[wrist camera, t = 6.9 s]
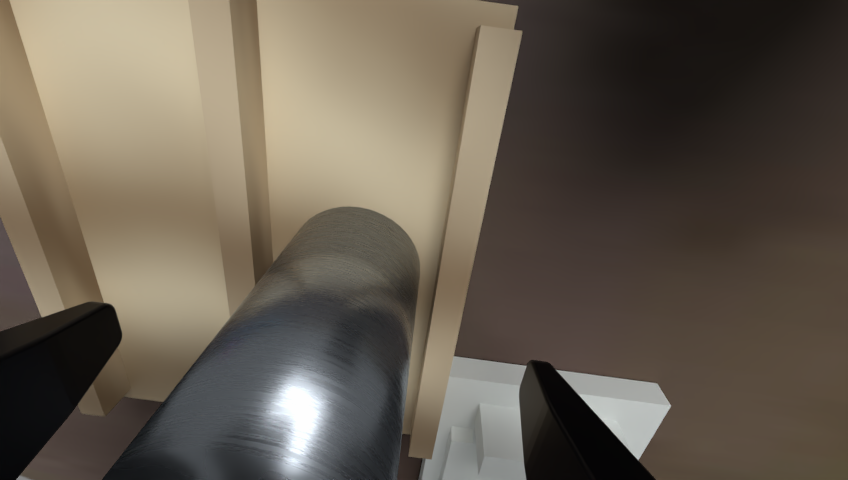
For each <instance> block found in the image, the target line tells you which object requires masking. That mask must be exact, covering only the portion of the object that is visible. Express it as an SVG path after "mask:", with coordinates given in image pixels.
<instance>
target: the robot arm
mask: <svg viewBox="0 0 848 480" xmlns="http://www.w3.org/2000/svg"><path fill="white" fill-rule="evenodd" d="M121 340H122V330H121V326H120V323H119V320H118V316H117V313H116V310H115V308H114V306H113V305H111V304H109V303H103V302H95V301H90V302H86V303H83V304H80V305H77V306H74V307H71V308H68V309H65V310H62V311H59V312H56V313H53V314H51V315H48V316H45V317H42V318H39V319H36V320H33V321H30V322H27V323H24V324H21V325H18V326H15V327H13V328H10V329H7V330H4V331H1V332H0V480H16V479H17V478H18V477H19V475H20V474H21V473H22V472H23V471H24V469H25V468H26V467H27V466H28V465H29V463H30V462H31V461H32V460H33V459H34V457H35V456H36V455H37V454H38V453H39V451H40V450H41V449H42V448H43V447H44V445H45V444H46V443H47V442H48V441H49V439H50V438H51V437H52V436H53V435H54V433H55V432H56V431H57V430H58V429H59V427H60V426H61V425H62V424H63V423H64V421H65V420H66V419H67V418H68V416H69V415H70V414H71V413H72V411H73V410H74V409H75V407H76V406H77V405H78V403H79V402H80V401H81V399H82V398H83V396H84V395H85V394H86V392H87V391H88V389H89V388H90V386H91V385H92V383H93V382H94V381H95V379H96V378H97V376H98V375H99V373H100V372H101V371H102V369H103V368H104V366H105V365H106V363H107V362H108V360H109V359H110V358H111V356H112V355H113V353H114V352H115V350H116V349H117V348H118V346H119V344H120V342H121ZM519 405H520V418H521V431H522V445H523V457H524V468H525V474H526V480H656V479H655V478H654V477H653V476H652V475H651V474H650V473H649V472H648V470H647V469H646V468H645V467H644V466H643V465H642V464H641V463H640V462H639V461H638V459H637V458H636V457H635V456H634V455H633V454H632V453H631V452H630V451H629V450H628V448H627V447H626V446H625V445H624V444H623V443H622V442H621V441H620V440H619V439H618V437H617V436H616V435H615V434H614V433H613V432H612V431H611V430H610V429H609V428H608V426H607V425H606V424H605V423H604V422H603V421H602V420H601V419H600V418H599V417H598V416H597V414H596V413H595V412H594V411H593V410H592V409H591V408H590V407H589V406H588V405H587V403H586V402H585V401H584V400H583V399H582V398H581V397H580V396H579V395H578V394H577V392H576V391H575V390H574V389H573V388H572V387H571V386H570V385H569V384H568V383H567V381H566V380H565V379H564V378H563V377H562V376H561V375H560V374H559V373H558V372H557V370H556V369H555V368H554V367H553V366H552V365H551V364H550V363H548V362H544V361H537V360H531V361H529V362H528V364H527V367H526V370H525V373H524V376H523V379H522V382H521V385H520V389H519Z"/></svg>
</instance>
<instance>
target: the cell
mask: <svg viewBox="0 0 848 480" xmlns="http://www.w3.org/2000/svg"><path fill="white" fill-rule="evenodd" d="M419 280H420V260H419V255H418V252H417V250H416V247H415V245H414V243H413V242H412V240H411V238H410V237H409V236H408V234H407V233H406V232H405V231H404V230H403V229H402V228H401V227H400V226H399V225H398V224H397V223H395V222H394V221H393V220H391V219H390V218H388V217H386V216H385V215H383V214H380V213H378V212H376V211H373V210H370V209H366V208H361V207H351V206H348V207H337V208H331V209H328V210H325V211H323V212H320V213H318V214H316V215H315V216H313V217H312V218H310V219H309V220H308V221H307V222H306V223H305V224H304V225H303V226H302V227H301V228H300V230H299V231H298V232H297V233H296V235H295V236H294V237H293V238H292V240H291V241H290V242H289V243H288V245H287V246H286V247H285V249H284V250H283V251H282V252H281V254H280V255H279V256H278V257H277V259H276V260H275V261H274V262H273V264H272V265H271V266H270V268H269V269H268V270H267V271H266V273H265V274H264V275H263V276H262V278H261V279H260V280H259V281H258V283H257V284H256V285H255V287H254V288H253V289H252V290H251V292H250V293H249V294H248V295H247V297H246V298H245V299H244V300H243V302H242V303H241V304H240V306H239V307H238V308H237V309H236V311H235V312H234V313H233V314H232V316H231V317H230V318H229V319H228V321H227V322H226V323H225V325H224V326H223V327H222V328H221V330H220V331H219V332H218V333H217V335H216V336H215V337H214V338H213V340H212V341H211V342H210V344H209V345H208V346H207V347H206V349H205V350H204V351H203V352H202V354H201V355H200V356H199V357H198V359H197V360H196V361H195V363H194V364H193V365H192V366H191V368H190V369H189V370H188V371H187V373H186V374H185V375H184V376H183V378H182V379H181V380H180V382H179V383H178V384H177V385H176V387H175V388H174V389H173V390H172V392H171V393H170V394H169V395H168V397H167V398H166V399H165V400H164V402H163V403H162V404H161V406H160V407H159V408H158V409H157V411H156V412H155V413H154V414H153V416H152V417H151V418H150V419H149V421H148V422H147V423H146V425H145V426H144V427H143V428H142V430H141V431H140V432H139V433H138V435H137V436H136V437H135V438H134V440H133V441H132V442H131V444H130V445H129V446H128V447H127V449H126V450H125V451H124V452H123V454H122V455H121V456H120V457H119V459H118V460H117V461H116V463H115V464H114V465H113V466H112V468H111V469H110V470H109V471H108V473H107V474H106V475H105V476H104V478H103V479H102V480H397V475H398V466H399V457H400V448H401V439H402V430H403V421H404V413H405V404H406V395H407V386H408V377H409V368H410V360H411V351H412V342H413V333H414V324H415V315H416V306H417V298H418V289H419Z"/></svg>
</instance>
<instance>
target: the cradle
mask: <svg viewBox="0 0 848 480" xmlns="http://www.w3.org/2000/svg"><path fill="white" fill-rule="evenodd" d="M526 367H527V366H523V365H516V364H508V363H501V362H493V361H486V360H478V359H471V358H463V357H456V356H453V361H452V366H451V370H450V375H449V380H448V385H447V389H446V394H445V399H444V403H443V408H442V413H441V417H440V422H439V427H438V432H437V436H436V441H435V446H434V450H433V455H432V460H431V459H422V464H421V469H420V475H419V480H526V474H525V468H524V457H523V445H522V431H521V418H520V405H519V389H520V385H521V382H522V379H523V376H524V373H525V370H526ZM557 372H558V373H559V374H560V375H561V376H562V377H563V378H564V379H565V380H566V381H567V383H568V384H569V385H570V386H571V387H572V388H573V389H574V390H575V391H576V392H577V394H578V395H579V396H580V397H581V398H582V399H583V400H584V401H585V402H586V403H587V405H588V406H589V407H590V408H591V409H592V410H593V411H594V412H595V413H596V414H597V416H598V417H599V418H600V419H601V420H602V421H603V422H604V423H605V424H606V425H607V426H608V428H609V429H610V430H611V431H612V432H613V433H614V434H615V435H616V436H617V437H618V439H619V440H620V441H621V442H622V443H623V444H624V445H625V446H626V447H627V448H628V450H629V451H630V452H631V453H632V454H633V455H634V456H635V457H636V458H637V459H638V460H639V458H640V456H641V455H642V453H643V452H644V450H645V448H646V447H647V445H648V443H649V442H650V440H651V438H652V437H653V435H654V433H655V432H656V430H657V428H658V427H659V425H660V423H661V422H662V420H663V418H664V417H665V415H666V413H667V412H668V410H669V408H670V407H671V405H670V403H669V402H668V400H667V399H666V397H665V395H664V394H663V392H662V391H661V389H660V387H659V386H658V384H657V383H650V382H643V381H635V380H628V379H620V378H613V377H606V376H598V375H591V374H583V373H576V372H568V371H561V370H557Z"/></svg>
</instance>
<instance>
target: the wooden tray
mask: <svg viewBox="0 0 848 480" xmlns="http://www.w3.org/2000/svg"><path fill="white" fill-rule="evenodd" d="M517 11H518V6H514V5H507V4H500V3H493V2H486V1H479V0H0V217H1V219H2V222H3V224H4V227H5V229H6V231H7V234H8V236H9V239H10V241H11V244H12V246H13V248H14V251H15V253H16V256H17V258H18V261H19V263H20V265H21V268H22V270H23V273H24V275H25V278H26V280H27V282H28V285H29V287H30V290H31V292H32V295H33V297H34V299H35V302H36V304H37V307H38V309H39V312H40V314H41V316H42V317H45V316H48V315H51V314H53V313H56V312H59V311H62V310H65V309H68V308H71V307H74V306H77V305H80V304H83V303H86V302H90V301H95V302H103V303H109V304H111V305H113V306H114V308H115V310H116V313H117V316H118V320H119V323H120V326H121V330H122V340H121V342H120V344H119V346H118V348H117V349H116V350H115V352H114V353H113V355H112V356H111V358H110V359H109V360H108V362H107V363H106V365H105V366H104V368H103V369H102V371H101V372H100V373H99V375H98V376H97V378H96V379H95V381H94V382H93V383H92V385H91V386H90V388H89V389H88V391H87V392H86V394H85V395H84V396H83V398H82V399H81V401H80V402H79V403H78V406H79V409H80V411H81V413H82V414H88V415H96V416H103V417H105V416H106V415H107V414H108V413H109V412H110V411H111V410H112V409H113V408H114V406H115V405H116V404H117V403H118V402H119V401H120V400H121V399H122V398H123V397H129V398H137V399H144V400H152V401H159V402H164V400H165V399H166V398H167V397H168V395H169V394H170V393H171V392H172V390H173V389H174V388H175V387H176V385H177V384H178V383H179V382H180V380H181V379H182V378H183V376H184V375H185V374H186V373H187V371H188V370H189V369H190V368H191V366H192V365H193V364H194V363H195V361H196V360H197V359H198V357H199V356H200V355H201V354H202V352H203V351H204V350H205V349H206V347H207V346H208V345H209V344H210V342H211V341H212V340H213V338H214V337H215V336H216V335H217V333H218V332H219V331H220V330H221V328H222V327H223V326H224V325H225V323H226V322H227V321H228V319H229V318H230V317H231V316H232V314H233V313H234V312H235V311H236V309H237V308H238V307H239V306H240V304H241V303H242V302H243V300H244V299H245V298H246V297H247V295H248V294H249V293H250V292H251V290H252V289H253V288H254V287H255V285H256V284H257V283H258V281H259V280H260V279H261V278H262V276H263V275H264V274H265V273H266V271H267V270H268V269H269V268H270V266H271V265H272V264H273V262H274V261H275V260H276V259H277V257H278V256H279V255H280V254H281V252H282V251H283V250H284V249H285V247H286V246H287V245H288V243H289V242H290V241H291V240H292V238H293V237H294V236H295V235H296V233H297V232H298V231H299V230H300V228H301V227H302V226H303V225H304V224H305V223H306V222H307V221H308V220H309V219H310V218H312V217H313V216H315V215H316V214H318V213H320V212H323V211H325V210H328V209H331V208H337V207H348V206H351V207H361V208H366V209H370V210H373V211H376V212H378V213H380V214H383V215H385V216H386V217H388V218H390V219H391V220H393V221H394V222H395V223H397V224H398V225H399V226H400V227H401V228H402V229H403V230H404V231H405V232H406V233H407V234H408V236H409V237H410V238H411V240H412V242H413V243H414V245H415V247H416V250H417V252H418V255H419V260H420V280H419V289H418V298H417V306H416V315H415V324H414V333H413V342H412V351H411V360H410V368H409V377H408V386H407V395H406V404H405V413H404V421H403V430H402V434H410V445H409V455H408V457H416V458H423V459H431V460H432V455H433V450H434V446H435V441H436V436H437V432H438V427H439V422H440V417H441V413H442V408H443V403H444V399H445V394H446V389H447V385H448V380H449V375H450V370H451V366H452V361H453V356H454V352H455V347H456V342H457V338H458V333H459V328H460V323H461V319H462V314H463V309H464V305H465V300H466V295H467V291H468V286H469V281H470V276H471V272H472V267H473V262H474V258H475V253H476V248H477V244H478V239H479V234H480V229H481V225H482V220H483V215H484V211H485V206H486V201H487V197H488V192H489V187H490V182H491V178H492V173H493V168H494V164H495V159H496V154H497V150H498V145H499V140H500V135H501V131H502V126H503V121H504V117H505V112H506V107H507V103H508V98H509V93H510V88H511V84H512V79H513V74H514V70H515V65H516V60H517V56H518V51H519V46H520V41H521V37H522V32H523V31H519V30H514V26H515V21H516V16H517Z"/></svg>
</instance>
